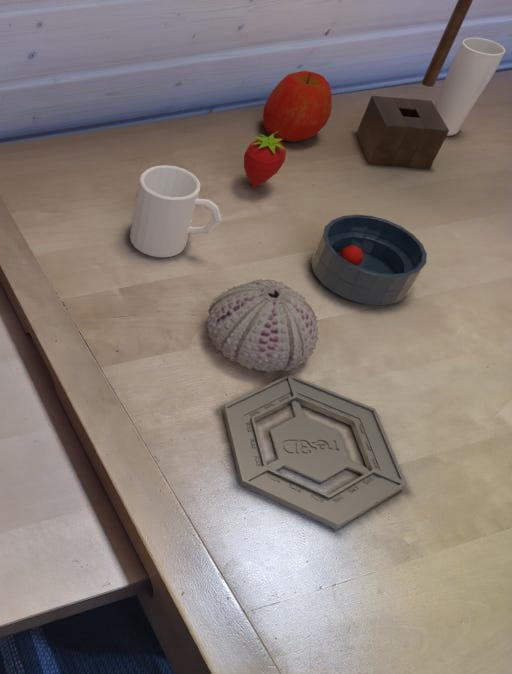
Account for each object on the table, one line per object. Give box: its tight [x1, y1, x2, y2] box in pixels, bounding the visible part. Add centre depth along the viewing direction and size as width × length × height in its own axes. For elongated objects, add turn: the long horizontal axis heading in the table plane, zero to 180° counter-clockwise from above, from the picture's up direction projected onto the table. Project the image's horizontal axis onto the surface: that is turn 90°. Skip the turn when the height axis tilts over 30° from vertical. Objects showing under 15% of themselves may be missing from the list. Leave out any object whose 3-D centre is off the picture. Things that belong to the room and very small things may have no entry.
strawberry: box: [243, 131, 287, 188], centre depth 109 cm, size 6×8×10 cm
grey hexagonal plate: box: [222, 373, 407, 530], centre depth 78 cm, size 17×20×1 cm
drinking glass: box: [434, 36, 506, 137], centre depth 122 cm, size 7×7×15 cm
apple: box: [262, 70, 333, 143], centre depth 121 cm, size 11×11×11 cm
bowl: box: [310, 214, 428, 306], centre depth 97 cm, size 13×13×6 cm
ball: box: [340, 246, 363, 266], centre depth 98 cm, size 3×3×3 cm
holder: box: [355, 95, 449, 170], centre depth 119 cm, size 10×10×7 cm
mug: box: [129, 164, 223, 258], centre depth 98 cm, size 8×12×10 cm
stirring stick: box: [421, 0, 474, 88], centre depth 101 cm, size 2×2×22 cm
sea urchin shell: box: [206, 278, 320, 373], centre depth 86 cm, size 13×14×8 cm
